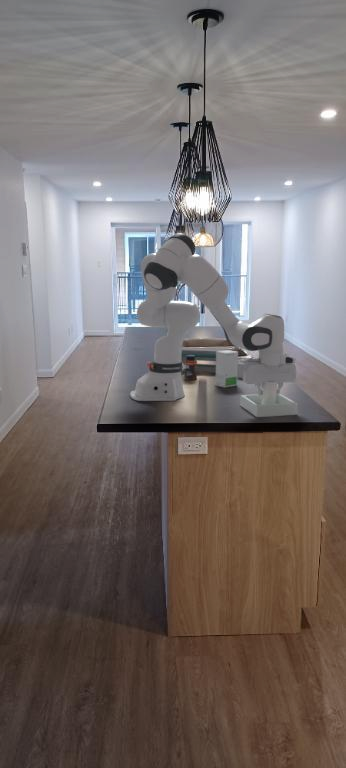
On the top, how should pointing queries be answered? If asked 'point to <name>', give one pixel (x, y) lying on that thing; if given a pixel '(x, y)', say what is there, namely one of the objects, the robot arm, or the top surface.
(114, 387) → the top surface
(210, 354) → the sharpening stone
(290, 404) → the sage tray
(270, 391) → the white cup
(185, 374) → the supplement bottle
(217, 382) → the skincare box
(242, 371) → the lumpy-topped squat cylinder
